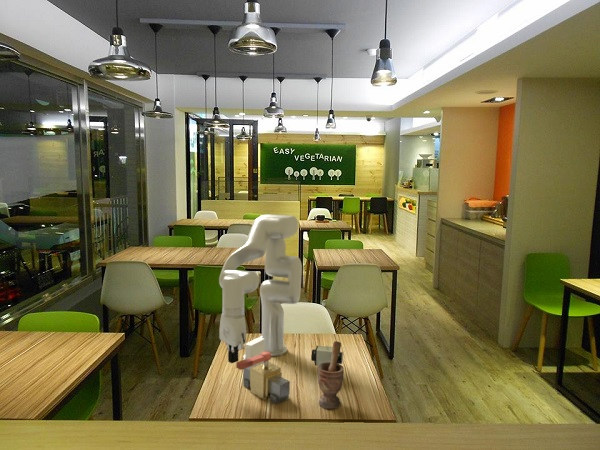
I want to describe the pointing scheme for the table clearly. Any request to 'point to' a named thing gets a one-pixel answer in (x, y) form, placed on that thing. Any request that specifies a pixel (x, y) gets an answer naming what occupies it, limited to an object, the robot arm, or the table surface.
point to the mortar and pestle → (331, 379)
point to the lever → (253, 360)
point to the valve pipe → (266, 382)
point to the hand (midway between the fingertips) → (233, 361)
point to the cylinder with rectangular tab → (254, 348)
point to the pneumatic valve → (324, 355)
